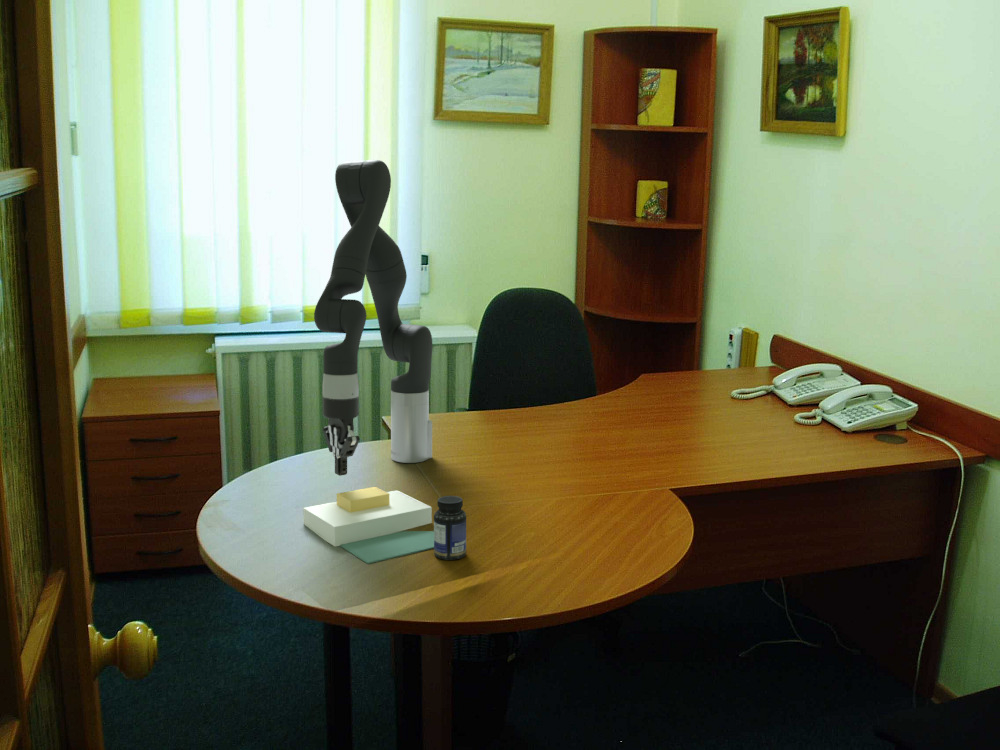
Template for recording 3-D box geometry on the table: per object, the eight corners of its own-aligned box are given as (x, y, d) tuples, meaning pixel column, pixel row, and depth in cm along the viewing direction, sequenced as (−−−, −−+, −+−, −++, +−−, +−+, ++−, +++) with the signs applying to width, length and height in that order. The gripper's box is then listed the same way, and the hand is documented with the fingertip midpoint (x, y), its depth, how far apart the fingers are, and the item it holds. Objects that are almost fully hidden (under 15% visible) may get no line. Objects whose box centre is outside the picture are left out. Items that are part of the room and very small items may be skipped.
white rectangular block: (397, 507, 208) (397, 490, 207) (431, 525, 197) (431, 507, 196) (303, 526, 195) (303, 507, 194) (334, 546, 184) (334, 526, 183)
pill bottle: (466, 549, 184) (466, 494, 182) (466, 561, 178) (466, 504, 176) (434, 549, 184) (434, 494, 182) (433, 561, 178) (433, 504, 176)
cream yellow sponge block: (375, 497, 202) (375, 486, 201) (389, 504, 197) (389, 493, 197) (336, 504, 197) (336, 493, 196) (350, 512, 192) (350, 501, 191)
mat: (428, 527, 196) (428, 525, 196) (458, 542, 187) (458, 541, 187) (340, 546, 184) (340, 544, 184) (367, 563, 176) (367, 562, 176)
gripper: (371, 397, 197) (371, 479, 200) (342, 387, 208) (342, 465, 210) (338, 401, 193) (339, 484, 195) (310, 390, 203) (311, 469, 206)
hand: (340, 474), depth 203 cm, fingers closed
